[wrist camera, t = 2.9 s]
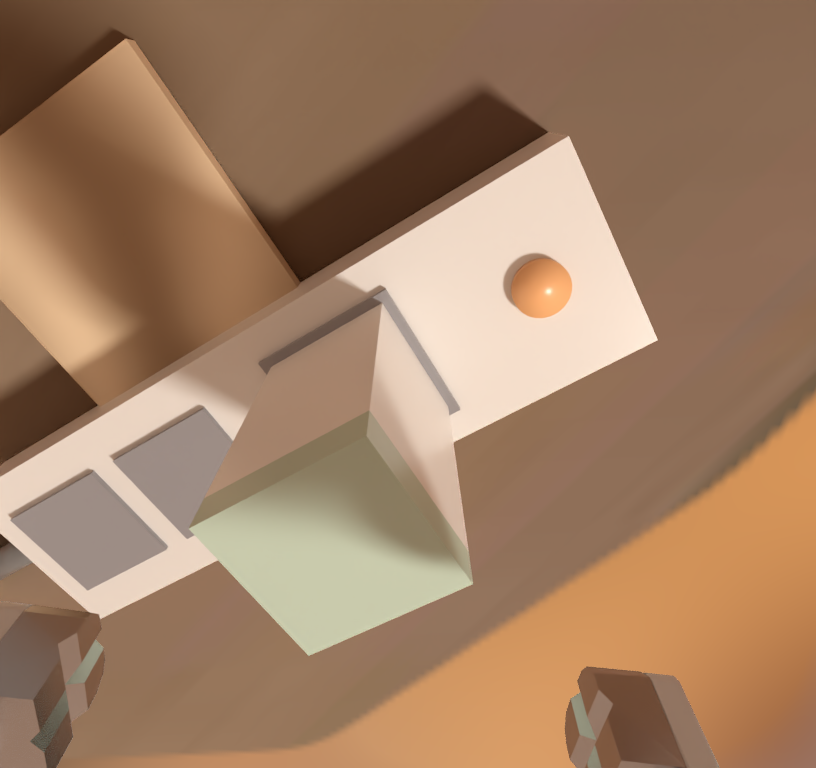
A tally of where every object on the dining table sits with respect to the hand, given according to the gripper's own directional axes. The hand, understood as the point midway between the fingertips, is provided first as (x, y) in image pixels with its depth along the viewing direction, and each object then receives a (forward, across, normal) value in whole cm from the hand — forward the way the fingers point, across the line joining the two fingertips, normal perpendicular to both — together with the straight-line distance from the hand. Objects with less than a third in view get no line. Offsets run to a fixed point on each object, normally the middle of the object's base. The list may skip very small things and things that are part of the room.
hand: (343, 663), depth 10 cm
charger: (+10, +1, 0) cm, 10 cm away
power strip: (+13, +5, +4) cm, 15 cm away
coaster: (+13, +9, -3) cm, 16 cm away
